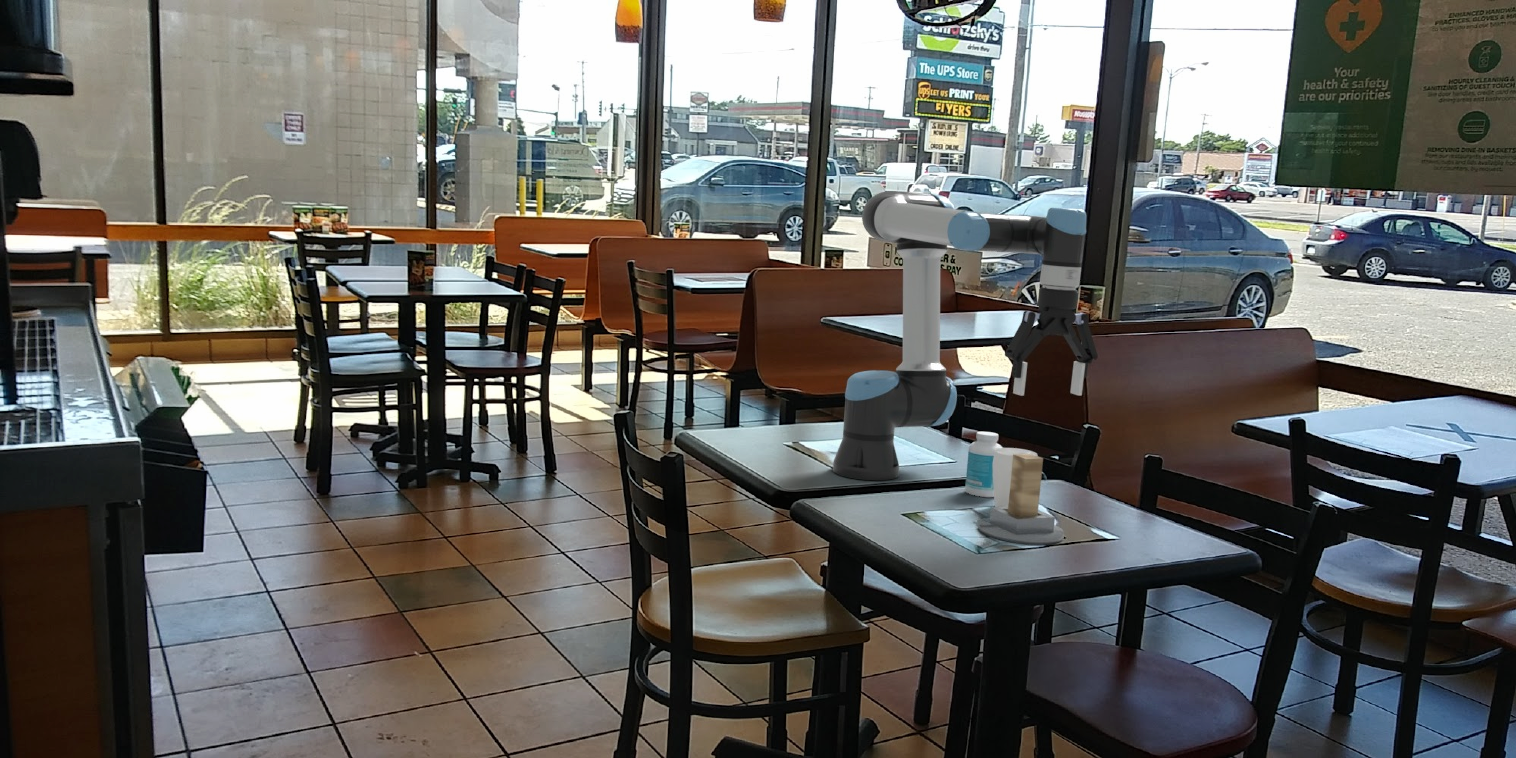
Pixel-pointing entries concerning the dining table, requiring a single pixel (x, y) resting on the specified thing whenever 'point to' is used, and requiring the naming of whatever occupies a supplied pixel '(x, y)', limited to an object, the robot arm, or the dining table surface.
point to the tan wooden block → (1025, 485)
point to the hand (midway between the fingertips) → (1047, 394)
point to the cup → (1004, 473)
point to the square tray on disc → (1021, 527)
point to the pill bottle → (981, 465)
